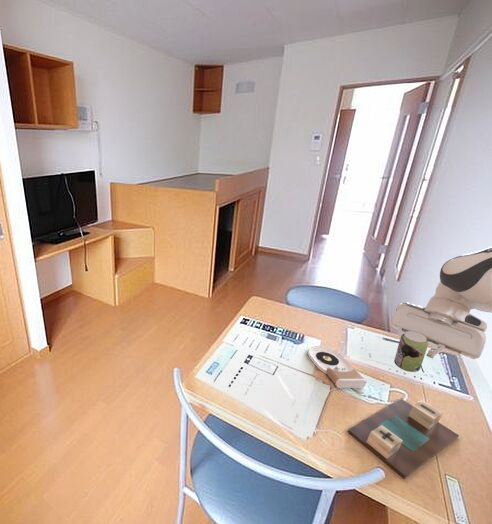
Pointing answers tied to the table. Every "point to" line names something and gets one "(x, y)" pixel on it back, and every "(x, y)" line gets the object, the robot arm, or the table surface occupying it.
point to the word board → (404, 435)
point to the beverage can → (411, 351)
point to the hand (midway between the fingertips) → (422, 353)
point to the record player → (336, 367)
